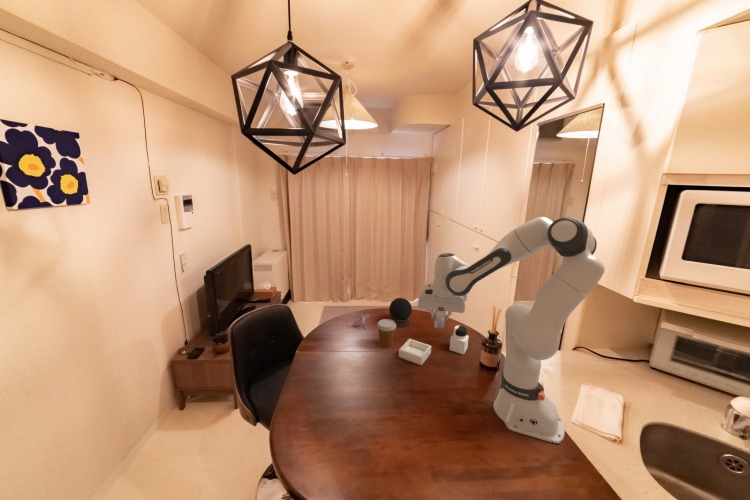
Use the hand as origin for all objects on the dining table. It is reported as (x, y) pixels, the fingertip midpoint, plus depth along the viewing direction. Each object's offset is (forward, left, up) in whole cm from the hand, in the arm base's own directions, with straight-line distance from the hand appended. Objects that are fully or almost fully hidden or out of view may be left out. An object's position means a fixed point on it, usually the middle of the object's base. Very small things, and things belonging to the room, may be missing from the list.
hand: (439, 318), depth 128 cm
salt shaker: (0, 0, -4) cm, 4 cm away
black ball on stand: (+31, -24, -22) cm, 45 cm away
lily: (+47, -7, -22) cm, 52 cm away
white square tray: (+10, +1, -22) cm, 24 cm away
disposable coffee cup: (+26, +1, -22) cm, 34 cm away
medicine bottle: (-6, -16, -22) cm, 28 cm away
